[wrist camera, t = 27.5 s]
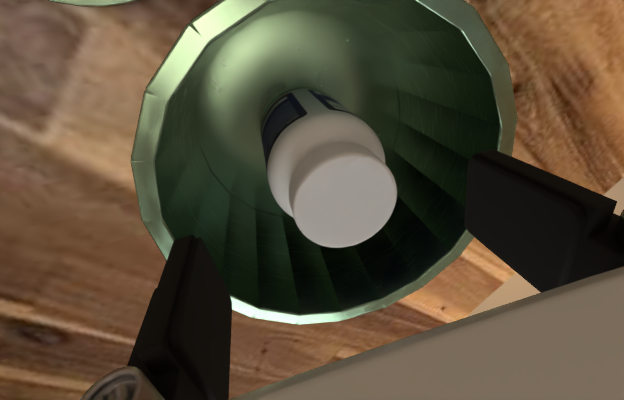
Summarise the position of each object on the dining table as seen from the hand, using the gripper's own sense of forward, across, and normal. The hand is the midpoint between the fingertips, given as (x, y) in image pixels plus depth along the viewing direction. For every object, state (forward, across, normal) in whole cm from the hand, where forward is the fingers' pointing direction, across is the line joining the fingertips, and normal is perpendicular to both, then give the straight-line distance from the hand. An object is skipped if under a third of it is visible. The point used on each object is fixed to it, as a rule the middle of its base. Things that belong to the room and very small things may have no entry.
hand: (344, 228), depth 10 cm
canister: (+11, -1, 0) cm, 11 cm away
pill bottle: (+11, -1, 0) cm, 11 cm away
